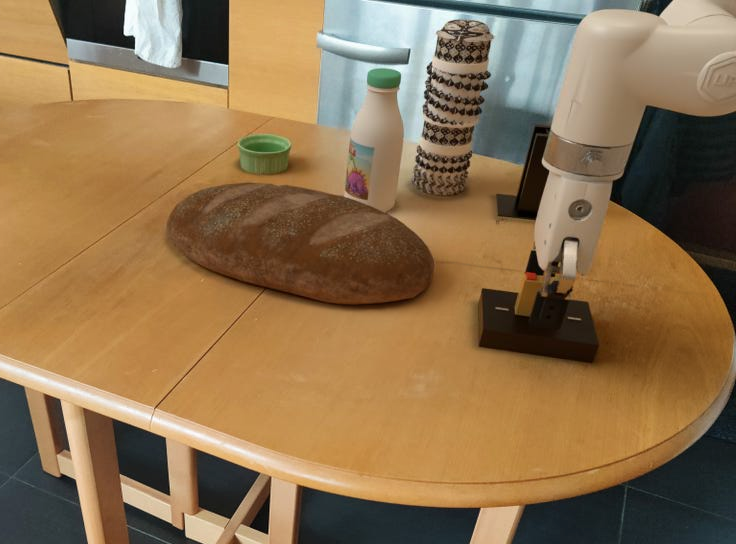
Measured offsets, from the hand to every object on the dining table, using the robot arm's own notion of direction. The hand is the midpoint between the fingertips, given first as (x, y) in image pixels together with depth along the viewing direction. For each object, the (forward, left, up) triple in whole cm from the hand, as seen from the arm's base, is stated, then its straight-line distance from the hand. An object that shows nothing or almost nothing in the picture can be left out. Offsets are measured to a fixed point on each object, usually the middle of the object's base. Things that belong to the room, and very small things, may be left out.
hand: (540, 303), depth 79 cm
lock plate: (0, 0, -4) cm, 4 cm away
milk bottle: (+22, -30, -5) cm, 37 cm away
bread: (+30, -11, -5) cm, 32 cm away
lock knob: (0, 0, -1) cm, 1 cm away
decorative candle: (+12, -39, -5) cm, 41 cm away
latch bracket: (-2, -34, -4) cm, 34 cm away
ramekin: (+41, -41, -5) cm, 58 cm away
